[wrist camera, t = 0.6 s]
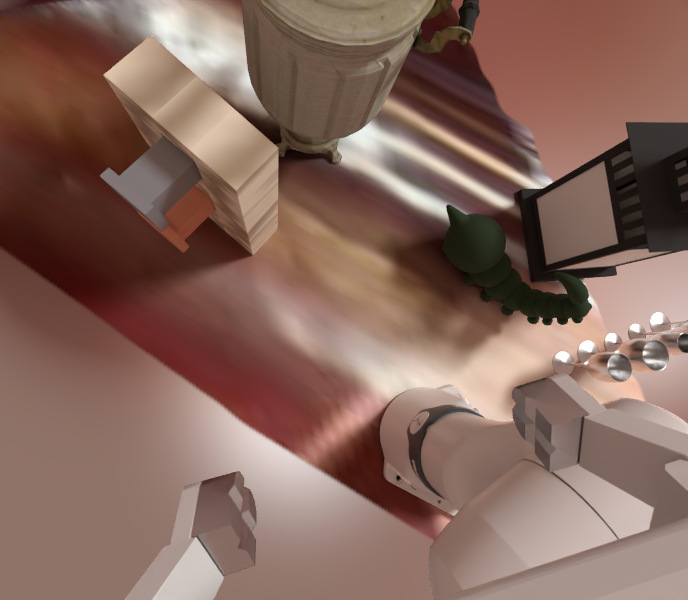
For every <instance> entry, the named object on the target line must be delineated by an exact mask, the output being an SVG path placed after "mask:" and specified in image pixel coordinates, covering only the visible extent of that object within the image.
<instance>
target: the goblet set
mask: <svg viewBox="0 0 688 600" xmlns="http://www.w3.org/2000/svg"><path fill="white" fill-rule="evenodd" d="M671 325H679V326H677V327H675V328H673V329H670V327H671ZM650 328H651V330H652V332H651V333H646V332H645V329H644V328H643V327H642V326H641V325H639V324H633V325H631V326H630V328H629V330H628V336H629V339H630V340H629V341H627V342H625V343H622V340H621V338H620V337H619V336H618V335H617V334H614V333H611V334H608V335H607V336H606V337H605V340H604V346H605V348H606V350H607V351H608V352H601V353H600V351H599V349H598V347H597V345H596V344H595V343H593V342H591V341H585V342H583V343H581V344H580V346H579V348H578V358H579V360H580V362H581V363H577V364H574V360H573V358H572V357H571V355H570V354H568V353H566V352H559V353H557V354H556V355H555V356H554V358H553V368H554V370H555V372H556V373H557V374H560V373H565V374H568V375H570V374H571V373H572V371H573V369H574V366H578V367H583V368H585V369H587V370H588V372H589V373H590V374H591V375H592V376H593V377H595V378H597V379H599V380H601V381H605V382H623V381H626V380H627V379H628V378H629V377H630V375H631V372H632V370H636V371H641V372H654V371H661V370H663V369H664V368H665V367H666V366H667V364H668V361H669V355H680V354H686V353H688V320H687V321H684V322H678V323H670V321H669V319H668V317H667V316H666V315H665V314H663V313H655V314H653V315H652V317H651V319H650ZM646 334H647V335H648V334H649V335H650V334H651V335H652V334H653V336H651V337H649V338H647V339H646Z"/></svg>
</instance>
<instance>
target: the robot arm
mask: <svg viewBox="0 0 688 600" xmlns="http://www.w3.org/2000/svg"><path fill="white" fill-rule="evenodd" d="M512 398H513V399H514V401H515V402H516V405H515V406H514V408H513V409H512V410H513V419H514V421H511V422H498V421H494V420H490V419H487V418H484V417H483V416H482V415H481V413H480V411H479V410H477V409H476V408H474V409H473V408H472V407H471V405H470V404H469V402H468V401H467V400H466V399H465V398H464V396H463V395H462V394H461V392H460V391H459V390H458V389H457V388H456V387H455V386H452V385H446V386H443V387H440V388H437V389H430V388H415V389H411V390H408V391H406V392H404V393H402V394H400V395H399V396H397V397H396V398H395V399H394V400H393V401H392V402H391V403H390V405H389V406H388V407H387V409H386V411H385V413H384V415H383V418H382V421H381V426H380V442H381V446H382V450H383V453H384V458H385V460H384V477H385V479H386V480H388V481H389V482H390V483H392V484H394V485H396V486H398V487H400V488H402V489H404V490H405V491H407V492H409V493H411V494H413V495H415V496H417V497H419V498H420V499H422V500H424V501H426V502H428V503H430V504H432V505H433V506H435V507H437V508H439V509H441V510H443V511H445V512H447V513H448V514H450V515H452V516H454V517H453V518H452V519H451V521H450V522H449V523H448V524H447V525H446V527H445V528H444V529H443V531H442V532H441V533H440V534H439V536H438V537H437V538H436V540H435V541H434V542H433V544H432V545H431V546H430V550H429V559H428V561H429V562H428V570H429V580H430V586H431V590H432V595H433V598H434V600H688V424H687V423H686V422H685V421H683V420H682V419H680V418H679V417H678V416H676V415H674V414H673V413H671V412H669V411H667V410H665V409H663V408H661V407H659V406H656V405H653V404H650V403H648V402H644V401H640V400H635V399H629V398H620V399H615V400H612V401H610V402H607V403H604V404H601V403H599V402H598V401H597V400H596V399H595V398H594V397H593V396H591V395H590V394H589V393H588V392H587V391H586V390H585V389H584V388H582V387H581V386H580V385H579V384H578V383H577V382H576V381H574V380H573V379H572V378H571V377H570V376H569V375H568V374H565V373H560V374H557V375H553V376H550V377H547V378H543V379H540V380H537V381H534V382H530V383H527V384H524V385H521V386H518V387H515V388H514V389H513V391H512ZM398 475H399V476H400V478H399V479H396V477H397V476H398ZM438 500H439V501H438ZM255 525H256V507H255V501H254V498H253V495H252V493H251V491H250V489H248V488H246V487H244V478H243V476H242V474H241V473H240V471H239V472H238V471H237V472H233V473H230V474H226V475H223V476H219V477H215V478H211V479H208V480H205V481H202V482H198V483H194V484H191V485H188V486H185V487H184V489H183V490H182V492H181V496H180V501H179V505H178V509H177V514H176V518H175V523H174V527H173V532H172V536H171V541H170V545H167V546H164V547H163V549H162V550H161V551H160V553H159V554H158V555H157V557H156V558H155V559H154V561H153V562H152V563H151V565H150V566H149V567H148V569H147V570H146V571H145V573H144V574H143V576H142V577H141V578H140V579H139V581H138V582H137V583H136V585H135V586H134V587H133V589H132V590H131V592H130V593H129V594H128V595H127V597H126V598H125V599H124V600H214V598H215V596H216V594H217V592H218V590H219V588H220V586H221V584H222V582H223V580H224V577H223V576H225V575H228V574H231V573H234V572H237V571H240V570H242V569H246V568H248V567H251V566H254V565H255V551H256V539H255V538H254V536H253V534H252V530H253V529H254V527H255Z"/></svg>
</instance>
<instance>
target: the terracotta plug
mask: <svg viewBox="0 0 688 600" xmlns="http://www.w3.org/2000/svg"><path fill="white" fill-rule="evenodd" d="M215 209H216V208H215V206H214V204H213V201H212V199H210V198H209V197H208V196H207V195H206V194H205V193H203V192H202V191H201V190H200V189H199V188H198V187H197V186H194V187H193V188H192V189H190V190H189V191H188V192H187V193H186V194H185V195H184V196H183V197H182V198H181V199H180V200H179V201H178V202H177V203H176V204H175V205H174V206H173V207H172V208H171V209H170V210H169V211H168V212H167V213H166V214H165V215H164V216H163V217H164V218H165V219H166V220H167V221H168V222H169V225H168V226H167V227H166V228H165V229H164V230H163V231H161V230H159V229H158V228H157V227H156V226H155V225H153V224H152V223H151V222H150V221H149V220H148V219H146V218H145V217H144V216H143V215H142V214H141V213H139V212H138V211H136V212H137V213H138V214H140V215H141V216H142V217H143V218H144V219H145V220H146V221H147V222H148V223H149V224H150V225H151V226H152V227H153V228H155V229H156V230H157V231H158V232H159V233H160V234H162V235H163V236H164V237H165V238H166V239H167V240H169V241H170V242H171V243H172V244H173V245H174V246H176V247H177V248H178V249H179V250H180V251H182V252H183V253H184V252H185V251H186V250H187V249H188V248H189V247H190V246H189V245H188V244H187V243H186V242H185V241H184V240H185V239H186V238H187V237H188V236H189V235H190V234H191V233H192V232H193V231H194V230H195V229H196V228H197V227H198V226H199V225H200V224H201V223H202V222H203V221H204V220H205V219H206V218H207V217H208V216H209V215H210V214H211V213H212V212H213V211H214V210H215Z"/></svg>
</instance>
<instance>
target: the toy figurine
mask: <svg viewBox="0 0 688 600" xmlns="http://www.w3.org/2000/svg"><path fill="white" fill-rule="evenodd" d="M446 208H447V212H448V216H449V220H450V225H451V226H450V228H449V229H448V231H447V233H446V236H445V239H444V244H443V246H442V252H443V253H445V254H446V256H447V258H448V260H449V261H450V262H451V263H452V264H453V265H454V266H455V267H457V268H458V269H460V270H462V271H465V272H467V273H465V275H464V276H463V281H464V283H465V284H467V285H468V286H473V285H475V284H477V285H479V286H481V287H484V291H483V292H482V293H481V296H480V297H481V299H482V300H483V301H485V302H489V301H491V299H494V300H496V301H501V302H502V304H503V306H502V308H501V311H502V313H503V314H504V315H507V316H508V315H511V314H513V312H514V310H515V311H519V310H520V312H521V313H523V314H524V315H526V316H528V318H527V320H528V322H529V323H531V324H536V323H537V322H538V320H539V317H541V318H543V320H542V322H543V324H544V325H551V323H552V321H553V320H552V318H557V322H558V323H559V324H561V325H565V324H566V323H567V322H568V319H569V318H572V320H573V322H575V323H580V322H581V321H582V320H583V317H585V316H586V315H587V314H588V312H589V310H590V309H591V308H592V305H591V304H590V303H589V302H588V300H587V299H588V297H589V294H588V290H587V288H586V286H585V285H584V284H583V283H582V282H581V281H580V280H579V279H577V278H576V277H574V276H572V275H569V274H565V273H561V272H556V273H554V277H555V278H556V279H557V280H559V281H560V282H561V283H562V285H563V286H564V288H565V289H566V291H567V294H557V295H556V294H555V293H550V292H545V293H543V292H542V291H540V290H536V289H531V288H530V286H529V285H528V284H526V283H525V282H522V278H521V276H520V274H519V273H518V272H517V270H515V269H514V268H512V265H511V260H510V258H509V257H508V255H507V254H506V253H505V252H504V251H505V245H506V238H505V234H504V231H503V229H502V228H501V226H500V225H499V223H498V222H497V221H495V220H494V219H493V218H491V217H489V216H486V215H483V214H469V215H465V214H464V213H462V212H461V211H459V210H457V209H456V208H454V207H453V206H451V205H447V206H446Z"/></svg>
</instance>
